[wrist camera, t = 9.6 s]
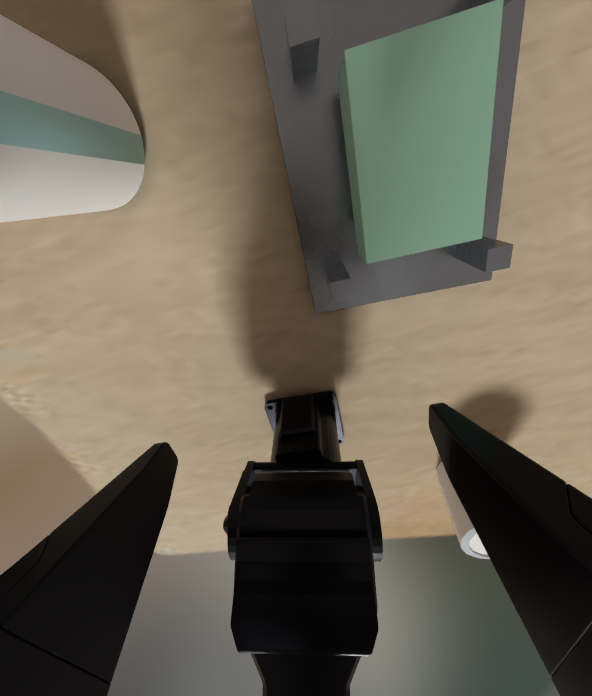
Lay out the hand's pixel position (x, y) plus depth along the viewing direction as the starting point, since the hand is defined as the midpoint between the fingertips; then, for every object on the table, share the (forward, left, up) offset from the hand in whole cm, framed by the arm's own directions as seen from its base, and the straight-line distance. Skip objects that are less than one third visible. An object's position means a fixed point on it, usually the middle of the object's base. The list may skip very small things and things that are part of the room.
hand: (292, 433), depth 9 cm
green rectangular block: (+7, -7, -11) cm, 15 cm away
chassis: (+7, -7, -13) cm, 16 cm away
